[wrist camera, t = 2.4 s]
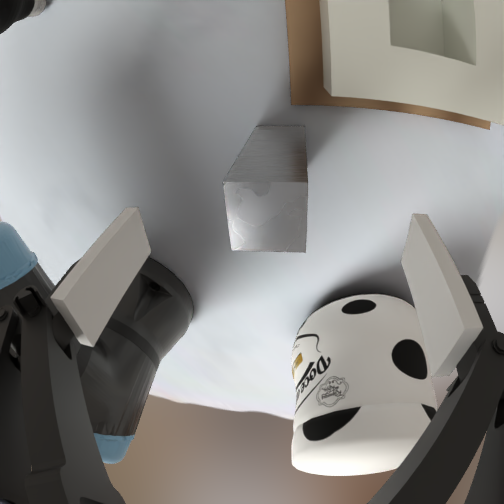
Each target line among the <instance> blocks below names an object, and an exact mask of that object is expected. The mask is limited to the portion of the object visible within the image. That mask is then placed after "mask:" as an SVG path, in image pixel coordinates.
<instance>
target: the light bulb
mask: <svg viewBox="0 0 504 504" xmlns="http://www.w3.org/2000/svg"><path fill="white" fill-rule="evenodd" d="M45 6H46V0H0V34H1V33H2V32H4V31H6V30H7V29H8V28H9V27H10V26H11V25H12V24H13V23H15V22H16V21H19V20H22V19H24V18H26V17H33V16H38V15H39V14H41V13H42V11H43V10H44V8H45Z"/></svg>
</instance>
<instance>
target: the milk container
mask: <svg viewBox="0 0 504 504" xmlns="http://www.w3.org/2000/svg"><path fill="white" fill-rule="evenodd" d="M291 366H292V374H293V378H294V383H295V387H296V394H297V399H296V410H295V417H294V425H293V429H294V435H293V439H292V464H293V466H295V468H297V469H298V470H301V471H304V472H307V473H312V474H320V475H332V476H349V475H363V474H371V473H376V472H383V471H388V470H392V469H396V468H398V467H399V466H400V464H401V463H402V462H403V461H404V459H405V458H406V457H407V455H408V454H409V453H410V451H411V450H412V448H413V447H414V446H415V444H416V443H417V441H418V440H419V438H420V437H421V436H422V434H423V433H424V431H425V430H426V428H427V426H428V425H429V423H430V422H431V420H432V419H433V417H434V415H435V414H436V412H437V410H438V406H437V401H436V396H435V392H434V387H433V382H432V376H431V370H430V365H429V360H428V356H427V351H426V347H425V343H424V339H423V334H422V331H421V327H420V323H419V319H418V315H417V312H416V309H415V308H414V307H413V306H412V305H410V304H409V303H407V302H406V301H404V300H403V299H401V298H398V297H395V296H391V295H386V294H380V293H368V294H356V295H351V296H347V297H344V298H341V299H337V300H335V301H332V302H330V303H328V304H326V305H324V306H323V307H321V308H319V309H318V310H316V311H315V312H313V313H312V314H311V315H310V316H309V317H308V318H307V320H306V321H305V322H304V323H303V324H302V326H301V327H300V329H299V331H298V333H297V336H296V339H295V342H294V346H293V350H292V358H291Z"/></svg>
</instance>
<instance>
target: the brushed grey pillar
mask: <svg viewBox="0 0 504 504" xmlns="http://www.w3.org/2000/svg"><path fill="white" fill-rule="evenodd" d="M223 189H224V197H225V204H226V212H227V220H228V228H229V235H230V243H231V250H241V251H272V252H304V253H306V234H307V200H308V176H307V156H306V140H305V126H256V127H255V129H254V131H253V132H252V134H251V136H250V137H249V139H248V140H247V142H246V144H245V145H244V147H243V149H242V150H241V152H240V154H239V155H238V157H237V159H236V161H235V162H234V164H233V166H232V167H231V169H230V171H229V172H228V174H227V176H226V178H225V179H224V181H223Z"/></svg>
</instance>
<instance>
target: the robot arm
mask: <svg viewBox="0 0 504 504" xmlns="http://www.w3.org/2000/svg"><path fill="white" fill-rule="evenodd" d="M150 253H151V248H150V245H149V242H148V238H147V235H146V232H145V228H144V225H143V222H142V218H141V215H140V211H139V207H133V208H125V210H124V211H123V212H122V213H121V214H120V215H119V216H118V217H117V218H116V219H115V220H114V221H113V222H112V224H111V225H110V226H109V227H108V228H107V229H106V230H105V231H104V232H103V233H102V235H101V236H100V237H99V238H98V239H97V240H96V241H95V243H94V244H93V245H92V246H91V247H90V248H89V250H88V251H87V252H86V253H85V254H84V255H83V257H82V258H81V259H79V260H78V261H77V262H75V263H74V264H73V265H72V266H71V267H70V268H69V270H68V271H67V272H66V274H64V276H63V277H62V278H61V280H60V281H59V282H58V283H57V285H56V286H55V285H54V284H53V283H52V281H51V280H50V279H49V277H48V276H47V275H46V273H45V272H44V270H43V269H42V268H41V266H40V265H39V263H38V262H37V261H38V259H37V257H36V255H35V253H34V252H32V251H30V250H29V248H28V247H27V246H26V244H25V243H24V241H23V240H22V239H21V237H20V236H19V234H18V233H17V231H16V230H15V229H14V228H13V227H12V226H11V225H10V224H8V223H6V222H0V504H126V503H125V501H124V500H123V498H122V496H121V495H120V494H119V492H118V491H117V490H116V489H115V488H114V487H113V485H112V484H111V482H110V480H109V477H108V475H107V472H106V469H105V467H104V464H103V462H105V463H109V464H113V463H117V462H119V461H121V460H122V459H123V458H124V456H125V454H126V452H127V449H128V447H129V444H130V442H131V440H133V439H134V436H135V432H136V429H137V426H138V423H139V420H140V417H141V414H142V411H143V408H144V405H145V402H146V399H147V397H148V394H149V391H150V388H151V385H152V382H153V380H154V377H155V374H156V371H157V369H158V366H159V364H160V361H161V360H162V359H163V357H164V356H165V355H166V354H167V353H168V352H169V351H170V350H171V349H172V347H173V346H174V345H175V344H176V343H177V342H178V340H179V339H180V338H181V337H182V336H183V335H184V334H185V333H186V331H187V329H188V327H189V324H190V322H191V319H192V316H193V303H192V300H191V297H190V295H189V293H188V291H187V289H186V288H185V286H184V285H183V284H182V282H181V281H180V280H179V279H178V278H177V277H176V276H175V275H174V274H173V273H172V272H170V271H169V270H168V269H167V268H165V267H164V266H162V265H161V264H159V263H158V262H156V261H154V260H152V259H150V258H148V256H149V254H150ZM401 264H402V267H403V270H404V273H405V276H406V279H407V282H408V285H409V288H410V291H411V295H412V298H413V301H414V305H415V308H416V312H417V315H418V319H419V323H420V327H421V331H422V334H423V339H424V343H425V347H426V351H427V356H428V360H429V365H430V370H431V375H432V377H442V376H449V375H450V374H451V373H452V372H453V370H454V369H455V368H457V372H458V377H457V378H456V379H455V380H454V381H453V383H452V384H451V385H450V386H449V387H448V388H447V391H448V393H447V395H446V397H445V399H444V400H443V402H442V404H441V405H440V407H439V409H438V410H437V412H436V414H435V415H434V417H433V419H432V420H431V422H430V423H429V425H428V426H427V428H426V430H425V431H424V433H423V434H422V436H421V437H420V438H419V440H418V441H417V443H416V444H415V446H414V447H413V448H412V450H411V451H410V453H409V454H408V455H407V457H406V458H405V459H404V461H403V462H402V463H401V464H400V466H399V467H398V468H397V470H396V471H395V472H394V473H393V475H392V476H391V477H390V478H389V479H388V481H387V482H386V483H385V484H384V485H383V486H382V488H381V489H380V490H379V491H378V492H377V493H376V494H375V496H374V497H373V498H372V499H371V500H370V501H369V502H368V503H367V504H446V502H447V501H448V499H449V498H450V496H451V494H452V493H453V492H454V490H455V488H456V487H457V485H458V483H459V482H460V480H461V478H462V477H463V475H464V473H465V472H466V470H467V468H468V467H469V465H470V463H471V461H472V459H473V457H474V456H475V453H476V452H477V449H478V448H479V446H480V444H481V442H482V440H483V438H484V435H485V433H486V431H487V433H486V437H485V441H484V445H483V449H482V453H481V456H480V460H479V463H478V466H477V470H476V473H475V476H474V479H473V482H472V485H471V487H470V490H469V493H468V496H467V498H466V501H465V503H464V504H504V334H503V333H501V332H497V330H496V327H495V325H494V322H493V320H492V318H491V315H490V313H489V311H488V308H487V306H486V304H484V300H483V298H482V296H481V293H480V291H479V289H478V287H477V285H476V284H475V282H474V281H473V280H472V279H471V278H470V277H469V276H468V275H460V274H459V271H458V269H457V267H456V266H455V264H454V262H453V260H452V258H451V256H450V254H449V252H448V250H447V248H446V247H445V245H444V243H443V241H442V239H441V238H440V236H439V234H438V232H437V230H436V229H435V227H434V225H433V224H432V222H431V220H430V219H429V217H428V215H425V214H412V219H411V223H410V228H409V232H408V236H407V240H406V244H405V248H404V252H403V255H402V259H401ZM31 466H32V472H31Z"/></svg>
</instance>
